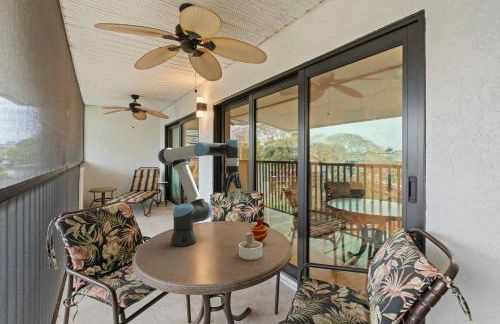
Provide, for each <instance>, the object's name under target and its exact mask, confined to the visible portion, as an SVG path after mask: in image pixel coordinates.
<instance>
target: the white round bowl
mask: <svg viewBox="0 0 500 324" xmlns="http://www.w3.org/2000/svg"><path fill="white" fill-rule="evenodd" d="M238 257H239V258H240V259H242V260H247V261H248V260H249V261H250V260H251V261H252V260H258V259H261V258H262V257H263V244H262V243H260V242H257V241H256V240H255V241H254V248H246V240H245V241H241V242H240V243H238Z"/></svg>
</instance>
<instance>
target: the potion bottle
mask: <svg viewBox="0 0 500 324" xmlns="http://www.w3.org/2000/svg"><path fill="white" fill-rule="evenodd" d="M255 222H256V224H255V225H253V227H251V232H250V233H254V240H255V241H257V242H260V243H262V245H263V244H264V240H265V239H266V238H267V237H268V233H269V232H268V231H269V230H268V228H267V227H266V225H264V224H263V222H264V221H263V217H256V220H255Z"/></svg>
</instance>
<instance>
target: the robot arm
mask: <svg viewBox="0 0 500 324" xmlns="http://www.w3.org/2000/svg"><path fill="white" fill-rule="evenodd" d="M239 149H240V146H239V140H238V139H233V138H232V139H226V140H225V142H224V143H220V142H219V143H218V142H205V141H200V142H199V141H198V142H196V143H195V144H190V145H185V146H179V147H165V148H162V149H160V150H159V151H158V153H157V156H158V160H159V162H160V163H161V164H163V165H166V166H172V167H173V170H174V171H176V172H177V175H178V178H179V180H180V184H181V186H182V188H183V190H184V191H183V192H184V194H185V197H186V198H187V201H188V202H187V203H181V204H176V206H174V207H173V213H172V214H173V232H172V235H171V239H170V245H171V246H173V247H178V248H182V247H188V246H193V245H195V244H196V243H197V237H196V235H195V231H194V224H196V223H199V222H200V223H201V222H204V221H206V220H208V219H210V218H211V215H212V206H211V204H210V203H209V202H207V201H205V198H204V197H201V195H200V192H199V189H198V187H197V184H196V181H195V178H194V177H193V174H192V171H191V169H190V164H191V163H190V162H191V159H192V158H197V157H198V158H199V157H204V156H205V157H206V156H215V157H218V156H220V157H222V156H225V158H226V160H225V165H226V167H225V171H226V172H225V174H224V181H223V185H222V192H224V203H225V204H230V188H231V185H232V183H233V184H234V186H235V189H234V190H235V191H234V192H235V193H234V194H235V196H234V198H235V200H240V199H241V198H240V197H241V194H240V193H241V192H240V191H241V190H242V187H243V186H242V182H241V178H240V173H239V171H240V167H239V162H240V158H239V152H240V151H239Z"/></svg>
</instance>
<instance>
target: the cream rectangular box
mask: <svg viewBox="0 0 500 324" xmlns="http://www.w3.org/2000/svg"><path fill="white" fill-rule="evenodd" d="M245 239H246V240H245V241H246V248H254V240H255V239H254V233H252V232H246V233H245Z"/></svg>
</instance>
